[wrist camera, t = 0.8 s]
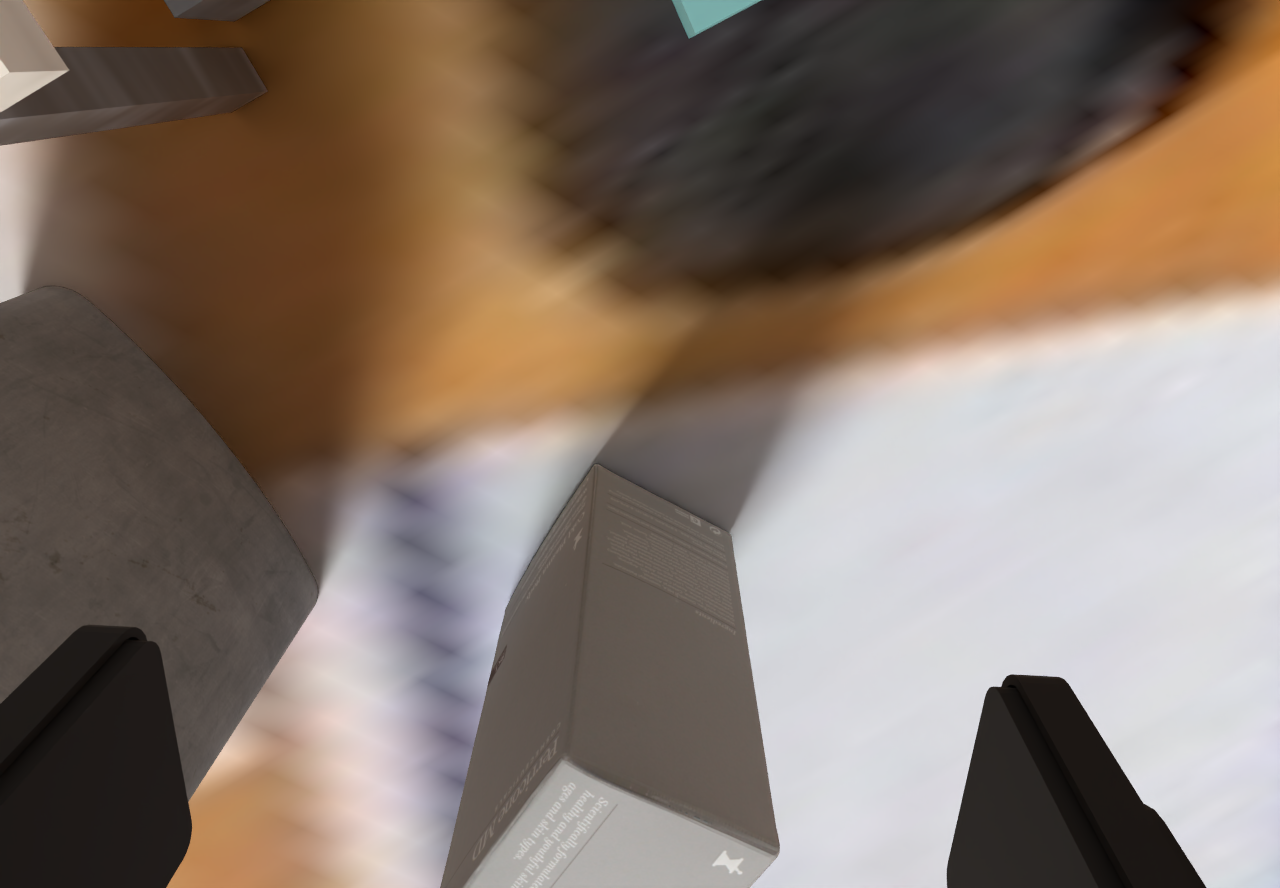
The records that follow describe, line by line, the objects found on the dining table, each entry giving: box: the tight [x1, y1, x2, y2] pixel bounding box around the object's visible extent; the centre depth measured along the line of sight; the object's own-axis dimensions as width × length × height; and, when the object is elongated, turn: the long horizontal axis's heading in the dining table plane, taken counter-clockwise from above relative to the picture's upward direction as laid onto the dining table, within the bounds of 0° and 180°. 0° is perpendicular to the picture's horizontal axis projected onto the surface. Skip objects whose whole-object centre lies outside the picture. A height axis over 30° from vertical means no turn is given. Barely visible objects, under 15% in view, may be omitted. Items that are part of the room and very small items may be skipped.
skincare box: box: [440, 464, 780, 888], centre depth 31 cm, size 8×7×16 cm
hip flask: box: [0, 286, 318, 801], centre depth 28 cm, size 16×4×20 cm, turn 31°
